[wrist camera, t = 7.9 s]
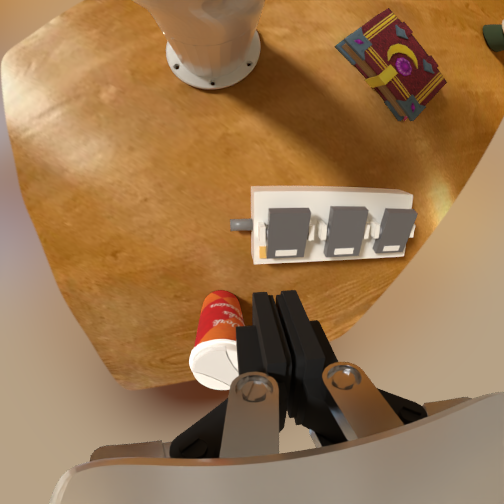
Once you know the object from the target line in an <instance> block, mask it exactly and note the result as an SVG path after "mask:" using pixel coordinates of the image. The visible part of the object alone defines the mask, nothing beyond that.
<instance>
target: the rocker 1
mask: <svg viewBox="0 0 504 504" xmlns="http://www.w3.org/2000/svg"><path fill="white" fill-rule="evenodd" d="M310 218H311V211H310V209H309V208H269V209H268V224H267V228H266V238H267V239H266V258H267V259H273V258H295V257H304V253H305V247H306V241H307V236H308V230H309V224H310Z"/></svg>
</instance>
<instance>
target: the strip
mask: <svg viewBox="0 0 504 504" xmlns="http://www.w3.org/2000/svg"><path fill="white" fill-rule="evenodd" d="M412 201H413V195H412V194H410V193H407V192H405V191H402V190H400V189H384V188H364V187H335V186H251V219H230V227H231V231H245V230H251V253H252V258H253V262H254V264H271V263H292V262H312V261H331V260H350V259H368V258H385V257H401V256H404V253H405V248H404V250H403V252H397V253H377V254H375V252H374V250H373V245H374V242H375V239H376V238H379V232H380V224H381V221H382V218H383V214H384V211H385V208H395V209H412ZM330 206H365V207H366V208H367V209H368V210H369V211H368V216H367V221H366V226H365V231H364V235H363V240H362V244H361V249H360V253H359V256H346V257H325V255H324V253H323V252H324V246H325V240H326V235H327V226H328V219H329V212H330ZM269 208H309V209H310V211H311V218H310V224H309V230H308V236H307V241H306V247H305V253H304V257H295V258H273V259H267V258H266V239H267V238H266V228H267V224H268V209H269ZM414 229H415V224H414V225H413V228H412V230H411V233H410V235H409V238H413V235H414ZM405 247H406V245H405Z"/></svg>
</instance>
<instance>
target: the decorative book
mask: <svg viewBox="0 0 504 504" xmlns="http://www.w3.org/2000/svg"><path fill="white" fill-rule="evenodd" d="M411 33H412V30H411V29H410V28H409V27H408V26H407V25H406V23H405V22H401V21H400V20H399V19H398V18H397V17H396V15H395V14H394V13H393V12H392V11H391V10H390V9H389V8H388V9H386V10H385V11H383V12H382V13H380V14H378V15H377V16H375V17H374V18H373V19H371V20H370V21H369V22H367V23H366V24H365V25H363V26H362V27H360V28H359V29H358V30H356V31H355V32H354V33H351V34H350V35H349V36H347V37H346V38H345V39H344V40H342V41H341V42H340V43H339V44H337V45H336V46H335V48H336V49H337V50H338V51H339V52H340V53H341V54H342V55H343V56H344V57H345V58H346V59H347V60H348V61H349V62H350V63H351V64H352V65H355V67H356V68H357V69H358V70H359V71H360V72H361V73H362V74H363V75H364V77H365V78H366V79H365V81H366V82H367V83H368V85H369V86H370V87H371V88H375V90H376V91H377V92H378V93H379V94H380V96H381V97H382V98H383V99H384V101H385V102H384V103H385V104H386V105H387V107H388V108H389V109H390V110H391V112H392V113H393V115H394V116H395V117H396V119H397V120H398V121H401V120H402V119H403V118H404V121H405V120H406V119H407V118H409V120H410V121H414V120H415V118H416V117H417V116H418V115H419V114H420V113H421V112H422V111H423V110H424V109H425V108H426V104H427V103H428V102H429V101H430V100H431V99H432V98H433V97H434V96H435V95H436V94H437V93H438V91H439V90H440V89H441V88H442V87H443V86H444V85H445V84H446V83H447V82H446V80H445V79H444V77H443V76H442V74H441V73H440V71H439V70H438V68H437V67H438V65H437V63H436V62H435V60H434V59H433V58H432V56H428V54H427V53H426V52H425V50H424V49H423V48H422V47H421V45H420V44H419V43H418V41H417V40H416V39H415V38H414V36H413V35H412V34H411Z"/></svg>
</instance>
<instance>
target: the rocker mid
mask: <svg viewBox="0 0 504 504" xmlns="http://www.w3.org/2000/svg"><path fill="white" fill-rule="evenodd" d="M368 211H369V210H368V209H367V208H366V207H365V206H330V212H329V219H328V226H327V235H326V240H325V246H324V252H323V253H324V255H325V257H346V256H359V253H360V249H361V244H362V240H363V235H364V231H365V226H366V221H367V216H368Z"/></svg>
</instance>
